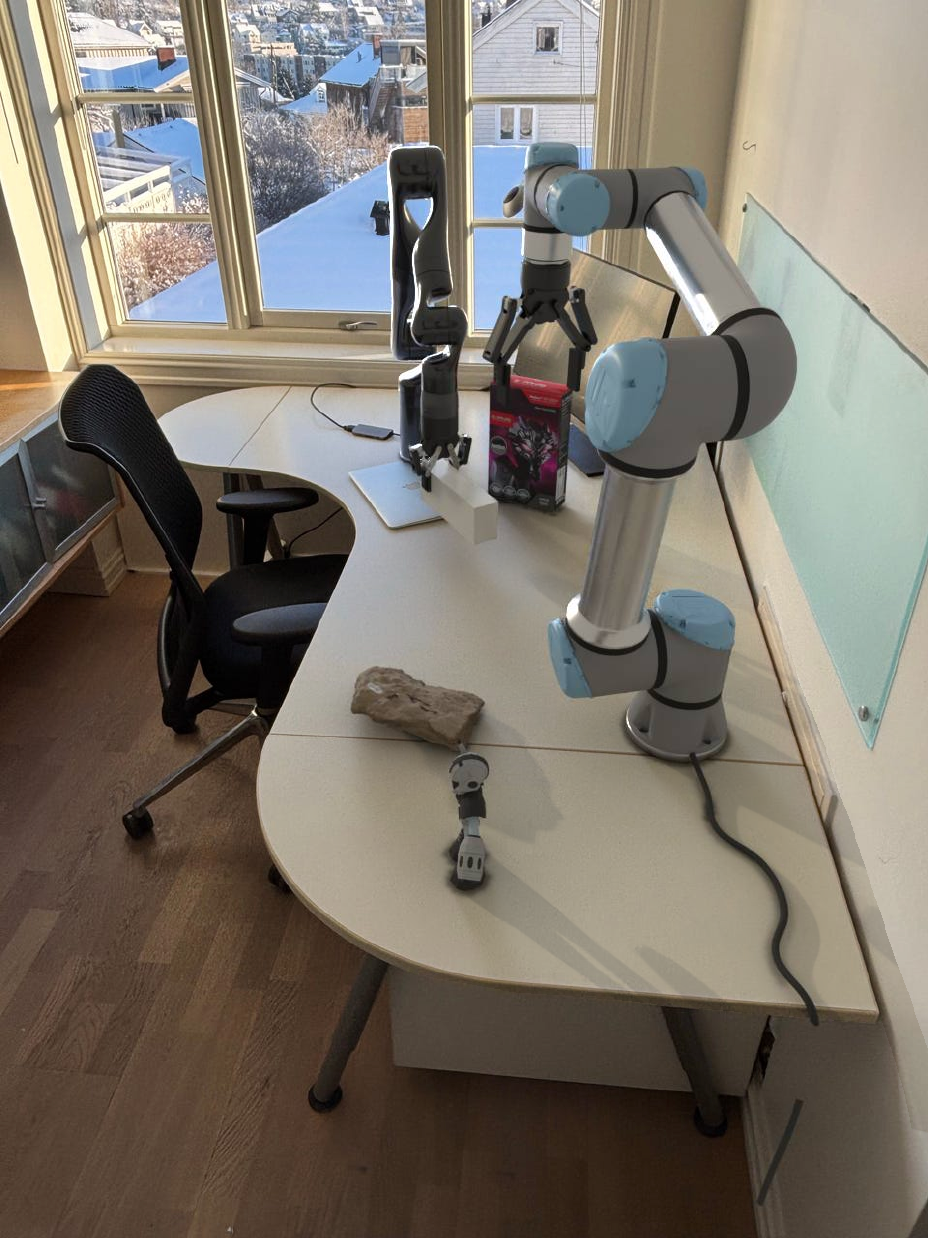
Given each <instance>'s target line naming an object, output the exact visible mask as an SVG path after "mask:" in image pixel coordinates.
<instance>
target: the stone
mask: <svg viewBox="0 0 928 1238" xmlns="http://www.w3.org/2000/svg"><path fill="white" fill-rule="evenodd" d="M353 688H354V693H353V695H352V701H351V703H350V708H349V709H350V710H349V711H350V713H351V714H353V715H357V714H358V715H364V716H367V717H369V719H371V721H372V722H373V723H375V724H379V725H386V726H387V728H391V729H393V730H400V731H403V732H405V733H407V734H409V735H413V736H416V737H419V738H422V739H423V740H425V741H426V742H429V743H432V744H439V745H443V746H446V747H447V748H449V749H450V750H452V751H455V752H461V751H460V748H459V746H458V743H457V740H458V739H460V740H461V742H462V744H463V745H464V747H465V748H466V747H467V745H468V742H469V741H470V738H471V736H472V729H473V727H474V725H475V723H476V721H477V719H478V716H479V715H480V713H481V709H482V708H483V707H484V706H485V704H486V702H485V700H483V699H482V697H479V696H478V695H476V694H474V693H472V692H469V691H465V690H462V691H461V690H456V689H451V688H446V687H443V686H439V685H438V686H437V685H428V684H426V683H425V682H424V681H423V680H422V679H416V678H414V677H412V676H411V674H407V672H405V671H404V670H403V669H402V668H394V667H390V666H389V667H388V666H387V667H384V666H378V665H374V666H371V667H369V668H367V669H365V670H363V671H362V672H361V673H359V674H358V675H357V677H356V680H355V683H354V687H353Z"/></svg>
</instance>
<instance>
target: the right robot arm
mask: <svg viewBox="0 0 928 1238" xmlns="http://www.w3.org/2000/svg"><path fill="white" fill-rule="evenodd" d="M524 160H525V162H524V168H523V170H522V171H523V175H524V177H523V178H524V179H523V206H522V234H521V235H522V238H521V257H523V259H522V260H521V261H520V280H519V281H520V282H519V283H520V288H521V291H520V295H519V297H511V296H509V295H507V294H506V295H503V296H502V299H501V305H500V311H499V314H498V317H497V319H496V321H495V324H494V326H493V328H492V330H491V334H490V335H489V338H488V341H487V343H486V345H485V347H484V350H483V352H482V355H481V356H482V359H483V360H485V361H486V362H489V363H491V364H492V365H493V370H492V371H493V373H492V374H493V375H492V381H494V383H495V384H497V402H499V403H501V404H502V405H504V406H510V381H511V375H512V365H511V364H510V363H508V362H509V360H510V359H511V357H512V356H513V354H514V353H515V352H516V350H517V349H518V347H519V346H520V344H521V342H522V341H523V340H524V338H525V337H526V335H527V334H528V332H529V331H531V330H532V329H533V328H534V327H535V325H538V326H540V325H544V324H546V323H550V324H552V323H555V322H556V323H557V324H558V325H559V327H560V328H561V329H562V331H563V333H564V334H565V335H566V337H567V338H568V339H569V340H570V342H571V344H572V345H573V347H569V349H568V359H567V372H566V373H567V374H566V375H567V376H566V385H567V388H569V389H571V390H573V392H575V393H579V392H580V391H581V381H582V370H584V369H585V367H586V357H587V353H590V351H591V350H592V346H596V345H597V344H598V342H599V340H598V336H597V334H596V331H595V327H594V324H593V321H592V319H591V315H590V312H589V309H588V306H587V303H586V290H585V289H584V288H582V287H579V286H577V285H571V286H570V284H571V273H572V272H571V271H572V262H571V261H570V259H571V258H572V257H573V246H574V237H577V238H583V237H588V236H591V235H593V234H594V233H596V232H597V231H606V230H607V231H608V230H637V229H638V230H639V229H642V230H643V231H644V233H645V235H646V237H647V238H648V240H649V242H650V244H651V245H652V247H653V249H654V251H655V253H656V255H657V257H658V259H659V260H660V262H661V264H662V266H663V268H664V270H665V272H666V273H667V275H668V277H669V279H670V281H671V283H672V285H673V287H674V288H675V291H676V292H677V294H678V296H679V298H680V299H681V301H682V304H683V305H684V307H685V309H686V311H687V313H688V315H689V316H690V318H691V320H692V322H693V324H694V326H695V327H696V329H697V331H698V334H699V335H697V336H695V335H694V336H682V337H668V338H667V337H665V338H655V337H649V336H647V337H646V336H645V337H640V338H637V339H634V340H625V341H618V342H615V343H613V344H611V345H610V346H608V347H607V348H605V349H604V350H603V351H602V352H601V353H600V354H599V356H598V357H596V360H595V362H594V364H593V365H592V367H591V370H590V373H589V377H588V380H587V383H586V389H585V394H584V395H585V396H584V405H585V412H584V423H585V424H584V425H585V429H586V433H587V436H588V439H589V441H590V442H591V443H590V444H592V445H593V447H595V449H596V451H597V454H598V456H599V458H600V459H601V461H602V462H603V463H604V464H605V467H604V471H603V477H602V482H601V487H600V493H599V498H598V503H597V504H598V505H597V509H596V514H595V518H594V519H595V520H594V525H593V530H592V535H591V540H590V546H589V551H588V556H587V561H586V567H585V572H584V576H583V577H584V578H583V582H582V588H581V591H580V593H577V594H576V595H575V596H574V597H572V599H571V600H570V601H569V603H568V605H567V608H566V614H565V617H564V618H562V617H557V618H556V619H555V618H554V619H552V620H550V621H549V623H548V626H547V643H548V650H549V654H550V660H551V664H552V668H553V672H554V675H555V678H556V681H557V683H558V686H559V688H560V690H561V691H562V693H563V694H564V695H565V696H566V697H568V698H570V699H588V698H589V699H594V698H597V697H605V696H612V695H619V694H621V695H622V694H628V693H635V692H636V694H635V695H634V697H633V699H632V701H631V702H630V704H629V706H628V708H627V711H626V719H625V728H626V732H627V734H628V736H629V738H630V739H631V741H632V742H634V744H636V745H637V746H638V747H639V748H640V749H641V750H643V751H645V752H646V753H648V754H650V755H651V756H654V757H656V758H659V759H662V760H666V761H670V762H675V763H692V765H693V768H694V770H695V773H696V775H697V778H698V781H699V784H701V788H702V790H703V794H704V796H705V804H706V812H707V817H708V821H709V823H710V825H711V827H712V829H713V830H714V831H715V833H716V834H717V835H718V836H719V837H720V838H721V839H722V840H723V841H724V842H726V843H727V844H728V845H730V846H732V847H733V848H735V849H737V850H738V851H740V852H741V853H743V854H745V855H746V856H747V857H749V858H750V859H752V860H753V861H754V862H755V863H756V864H757V865H758V866H759V867H760V869H762V870H763V872H764V873H765V874H766V876H767V877H768V878H769V880H770V882H771V884H772V885H773V887H774V890H775V892H776V896H777V898H778V902H779V906H780V908H779V909H780V917H779V921H778V923H777V927H776V929H775V931H774V933H773V937H772V941H771V955H772V959H773V961H774V964H775V966H776V968H777V970H778V971H779V973H780V974H781V975H782V977H783V978H784V979H785V980H786V981H787V982H788V984H789V985H790V986H791V987H792V988H793V989H794V990H795V991H796V993H797V994H798V995H799V997H800V998H801V999H802V1001H803V1003H804V1005H805V1007H806V1010H807V1012H808V1016H809V1021H810V1024H811V1025H812V1026H814V1027H816V1028H817V1027H819V1026H820V1021H819V1016H818V1012H817V1009H816V1006H815V1004H814V1002H813V1000H812V997H811V996H810V995H809V993H808V991H807V990H806V989H805V988H804V987H803V985H802V984H801V983H800V982H799V981H798V980H797V978H796V977H795V976H794V975H793V974H792V973H791V972H790V971H789V970H788V968H787V967H786V965H785V963H784V962H783V959H782V957H781V951H780V947H781V940H782V937H783V934H784V932H785V929H786V927H787V924H788V920H789V907H788V902H787V897H786V894H785V892H784V889H783V886H782V884H781V882H780V880H779V879H778V877H777V875H776V874H775V872H774V871H773V870H772V868H771V867H770V866H769V864H768V863H767V862H766V861H765V860H764V859H763V858H762V857H761V856H760V855H759V854H758V853H756V852H755V851H754V850H752V849H750V847H748V846H746V845H744V844H742V843H741V842H739V841H738V840H736V839H734V838H733V837H732V836H731V835H729V834H728V833H727V832H726V831H724V830H723V829H722V827H721V826H720V825H719V822H718V821H717V818H716V816H715V810H714V802H713V796H712V792H711V790H710V787H709V784H708V782H707V780H706V777H705V774H704V772H703V770H702V767H701V765H700V763H699V762H700V761H703V760H706V759H709V758H711V757H714V755H716V754H718V752H720V751H721V750H722V748H723V747H724V744H725V743H726V740H727V739H726V738H727V733H728V721H727V716H726V712H725V708H724V707H725V706H724V701H723V692H724V686H725V682H726V678H727V672H728V668H729V664H730V659H731V654H732V651H733V650H732V649H733V648H734V646H735V637H736V636H735V635H736V618H735V616H734V614H733V612H732V611H731V609H730V608H729V607H728V606H727V605H726V604H725V603H723V602H722V601H721V600H719V599H717V598H715V596H712V595H709V594H707V593H704V592H701V591H699V590H698V591H697V590H694V589H689V588H670V589H667V590H666V589H665V590H664V591H662V592H661V593H660V594H658V595H657V597H656V599H654V602H653V607H651V608H647V607H646V606H645V605H646V601H647V598H648V593H649V590H650V586H651V582H652V578H653V574H654V571H655V566H656V563H657V559H658V555H659V552H660V548H661V544H662V540H663V535H664V532H665V528H666V524H667V521H668V516H669V513H670V509H671V504H672V501H673V497H674V493H675V489H676V486H677V482H678V479H679V478H681V477H682V476H685V475H686V474H688V473H689V472H690V471H692V469H693V468H694V466H695V464H696V462H697V458H698V454H699V451H700V447H701V445H702V444H708V443H718V442H719V443H720V442H732V441H738V440H743V439H746V438H749V437H751V436H754V435H756V434H758V433H759V432H761V431H762V430H765V428H767V427H768V426H769V425H770V424H772V423H773V422H774V421H775V420H776V419H777V418H778V416H779V415H780V414H781V413H782V411H783V410H784V409H785V407H786V406H787V403H788V402H789V400H790V398H791V396H792V394H793V391H794V387H795V383H796V380H797V374H798V355H797V351H796V345H795V343H794V340H793V337H792V335H791V332H790V330H789V329H788V327H787V325H786V324H785V322H784V320H783V318H782V317H781V315H780V314H779V313H778V312H777V311H776V310H774V309H772V308H771V307H768V306H764V305H762V303H761V302H760V300H759V299H758V297H757V296H756V294H755V292H754V291H753V289H752V288H751V286H750V284H749V283H748V281H747V279H746V278H745V276H744V274H743V273H742V271H741V270H740V268H739V267H738V264H736V262H735V261H734V259H733V257H732V255H731V254H730V252H729V250H728V249H727V247H726V246H725V244H724V243H723V241H722V240H721V238H720V236H719V234H718V233H717V231H716V230H715V228H714V227H713V225H712V223H711V222H710V220H709V219H708V217H707V216H706V214H705V212H706V208H707V204H708V195H709V194H708V193H709V192H708V187H707V186H706V183H707V181H706V177H705V175H704V173H703V172H702V171H701V170H700V169H698V168H695V167H681V166H677V165H671V166H667V167H645V168H644V167H641V168H597V169H596V168H593V169H592V168H591V169H589V168H588V169H580V162H579V148H578V147H577V145H575V144H572V143H569V142H559V141H543V142H536V143H531V144H530V145H529V146H528V147H527V148H526V152H525V159H524ZM569 286H570V288H569V289H568V287H569ZM569 302H570V306H571V309H572V312H573V315H574V317H575V320H576V323H577V326H578V327H577V326H576V324H575V323H574V322H573V321H572V319H571V315H570V314H569V313H568V311H567V309H565V307H566V305H567V304H568V303H569ZM520 309H521V310H520ZM518 312H519V313H518ZM517 313H518V314H517ZM514 321H515V322H514ZM804 1102H805V1101H804V1100H802V1099H798V1098H795V1100H794V1104H793V1106H792V1110H791V1112H790V1116H789V1118H788V1122H787V1124H786V1127H785V1129H784V1131H783V1135H782V1137H781V1139H780V1142H779V1144H778V1146H777V1148H776V1151H775V1153H774V1156H773V1158H772V1161H771V1163H770V1165H769V1168H768V1170H767V1172H766V1175H765V1177H764V1180H763V1182H762V1185H761V1188H760V1190H759V1193H758V1196H757V1198H756V1204H757V1205H758V1206H759V1207H762V1206H764V1203H765V1201H766V1198H767V1195H768V1192H769V1190H770V1188H771V1185H772V1182H773V1180H774V1178H775V1175H776V1173H777V1172H778V1171H777V1170H778V1169H779V1166H780V1164H781V1162H782V1159H783V1157H784V1155H785V1153H786V1150H787V1148H788V1146H789V1144H790V1141H791V1139H792V1136H793V1133H794V1131H795V1128H796V1126H797V1123H798V1120H799V1118H800V1114H801V1111H802V1108H803V1105H804Z"/></svg>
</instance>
